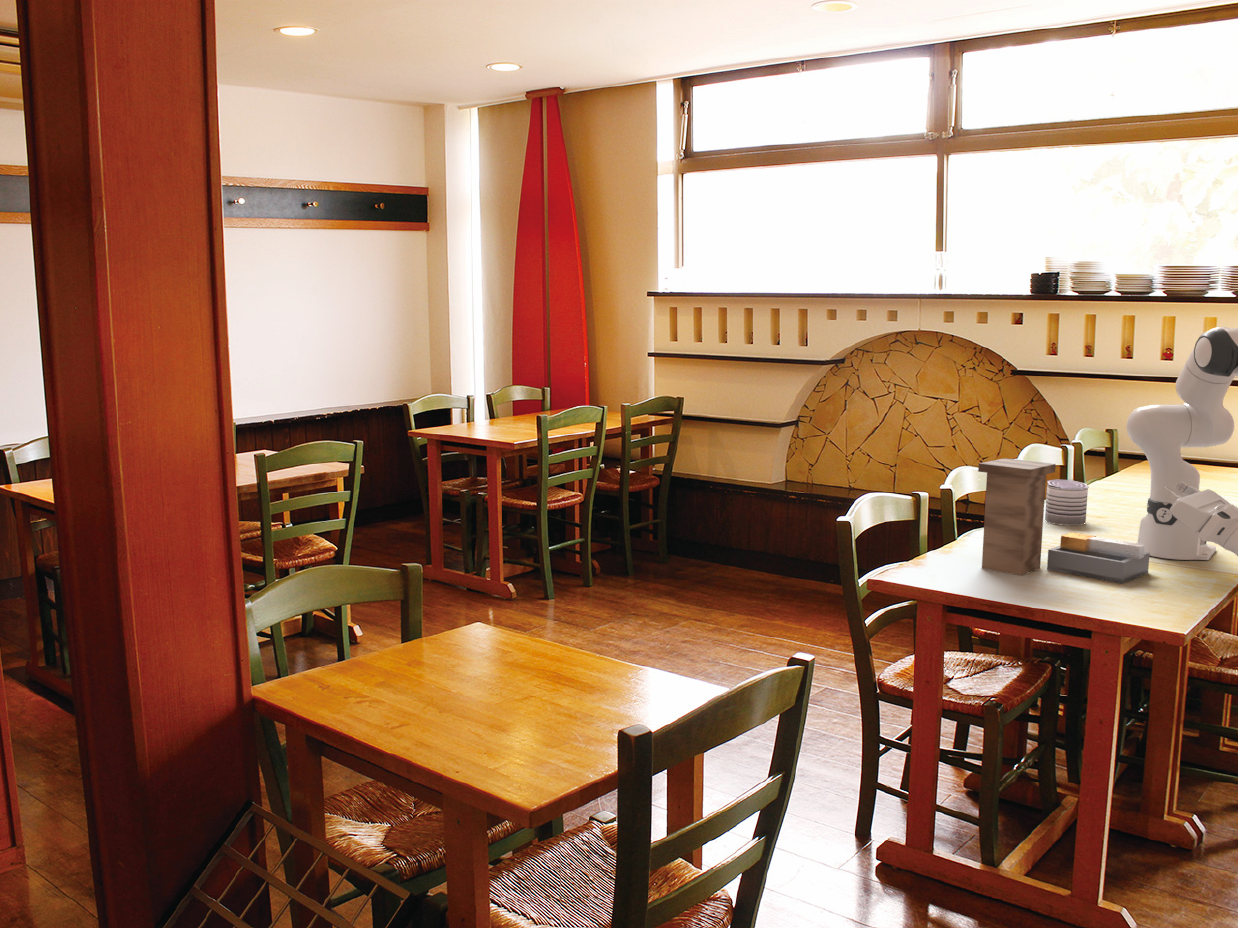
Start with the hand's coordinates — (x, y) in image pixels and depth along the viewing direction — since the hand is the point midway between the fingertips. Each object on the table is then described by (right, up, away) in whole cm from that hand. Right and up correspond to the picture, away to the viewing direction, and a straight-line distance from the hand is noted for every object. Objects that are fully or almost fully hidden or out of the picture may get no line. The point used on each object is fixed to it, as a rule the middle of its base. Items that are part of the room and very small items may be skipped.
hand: (1170, 486), depth 242 cm
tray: (-10, -21, +14) cm, 27 cm away
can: (+7, -12, +73) cm, 75 cm away
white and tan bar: (-10, -16, +13) cm, 23 cm away
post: (-30, -20, +17) cm, 40 cm away
